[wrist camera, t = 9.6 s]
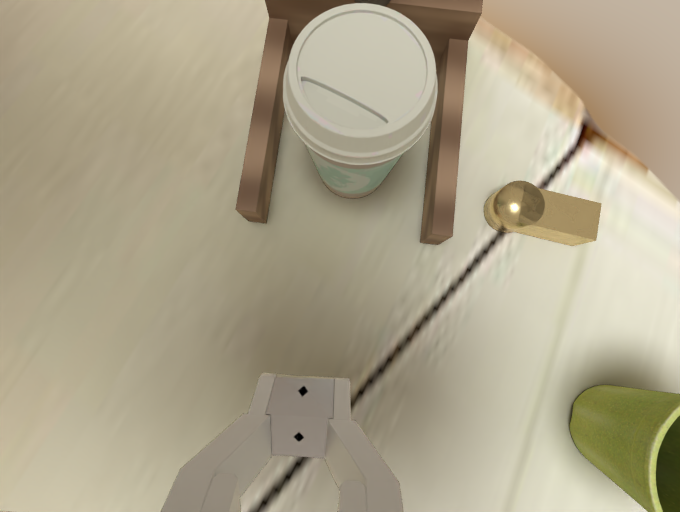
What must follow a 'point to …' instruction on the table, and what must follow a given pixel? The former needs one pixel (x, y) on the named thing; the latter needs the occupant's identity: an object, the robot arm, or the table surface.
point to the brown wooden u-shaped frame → (450, 57)
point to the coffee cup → (359, 93)
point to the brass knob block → (542, 214)
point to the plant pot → (632, 441)
